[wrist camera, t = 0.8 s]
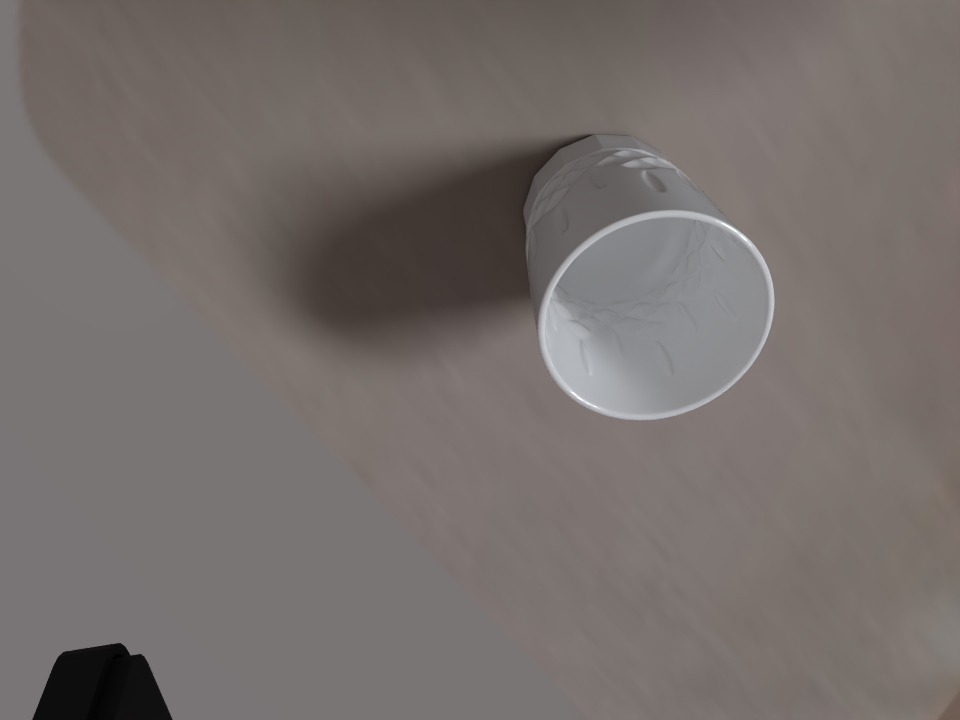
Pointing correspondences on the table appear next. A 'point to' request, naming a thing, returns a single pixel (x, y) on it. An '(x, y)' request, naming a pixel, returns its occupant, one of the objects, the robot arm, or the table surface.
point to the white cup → (639, 282)
